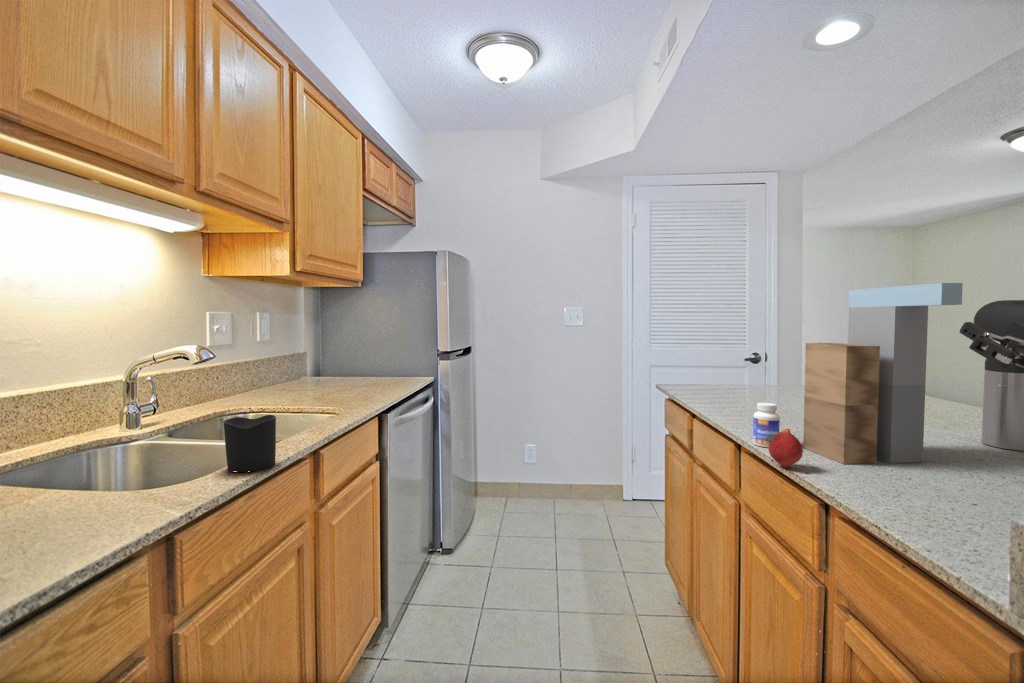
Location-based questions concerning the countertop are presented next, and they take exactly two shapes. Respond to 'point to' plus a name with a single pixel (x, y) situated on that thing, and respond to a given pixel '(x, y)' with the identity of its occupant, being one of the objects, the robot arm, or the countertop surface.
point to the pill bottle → (765, 424)
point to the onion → (785, 448)
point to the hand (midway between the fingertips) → (987, 326)
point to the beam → (908, 295)
